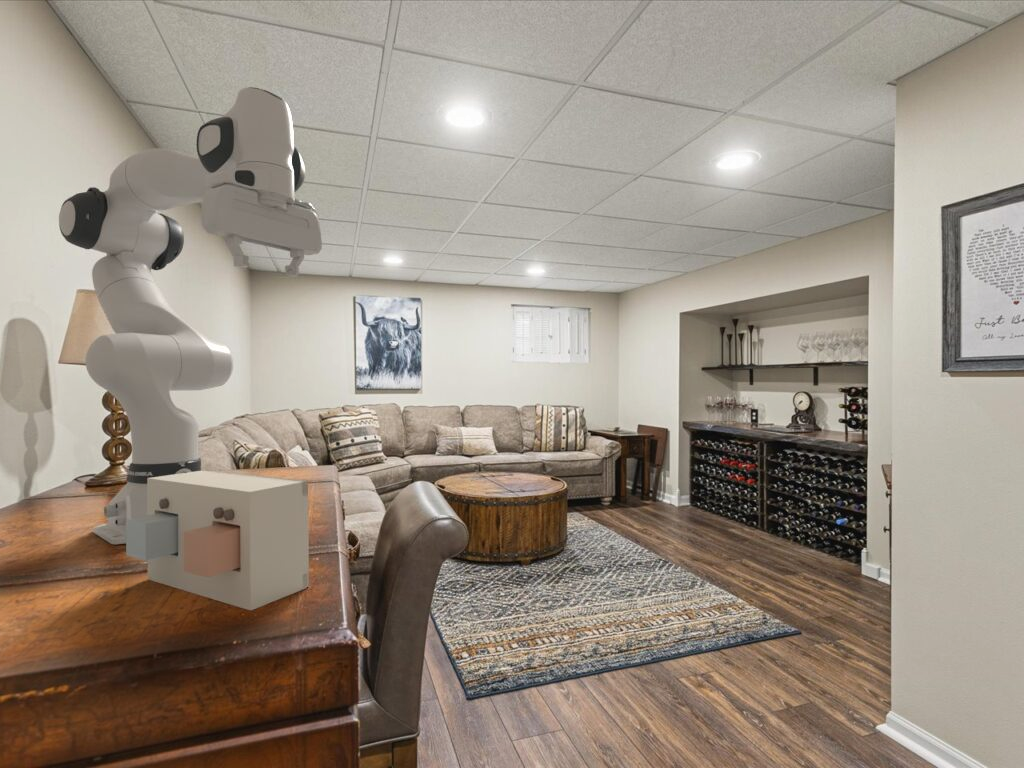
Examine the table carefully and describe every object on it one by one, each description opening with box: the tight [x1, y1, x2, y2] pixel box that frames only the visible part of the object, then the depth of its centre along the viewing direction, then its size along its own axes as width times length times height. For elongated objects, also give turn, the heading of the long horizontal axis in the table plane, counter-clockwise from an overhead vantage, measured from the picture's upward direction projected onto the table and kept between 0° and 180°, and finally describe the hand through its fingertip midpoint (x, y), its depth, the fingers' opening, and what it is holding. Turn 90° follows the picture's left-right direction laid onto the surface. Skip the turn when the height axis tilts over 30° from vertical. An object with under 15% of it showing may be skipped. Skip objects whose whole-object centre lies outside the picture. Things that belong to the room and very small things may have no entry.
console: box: [147, 469, 310, 611], centre depth 77 cm, size 24×10×15 cm, turn 61°
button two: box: [184, 523, 241, 578], centre depth 70 cm, size 5×8×5 cm, turn 151°
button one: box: [125, 512, 178, 562], centre depth 77 cm, size 5×8×5 cm, turn 151°
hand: (267, 271), depth 90 cm, fingers open, 8 cm apart
